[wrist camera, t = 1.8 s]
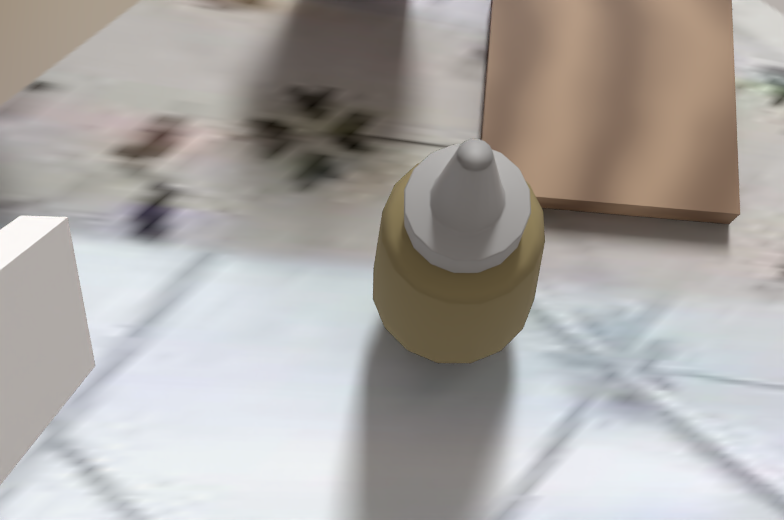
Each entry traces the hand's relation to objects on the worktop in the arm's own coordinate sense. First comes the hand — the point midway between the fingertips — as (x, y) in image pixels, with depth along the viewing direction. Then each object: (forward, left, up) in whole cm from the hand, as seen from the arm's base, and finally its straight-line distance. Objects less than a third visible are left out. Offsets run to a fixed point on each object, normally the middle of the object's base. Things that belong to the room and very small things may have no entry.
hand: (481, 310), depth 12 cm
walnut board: (+8, +21, -28) cm, 36 cm away
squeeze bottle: (0, +8, -28) cm, 29 cm away
